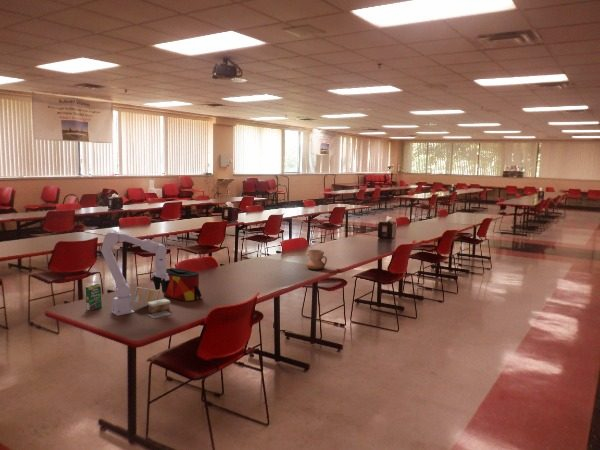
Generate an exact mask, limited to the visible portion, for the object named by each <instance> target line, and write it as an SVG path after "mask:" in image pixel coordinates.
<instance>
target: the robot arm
mask: <svg viewBox="0 0 600 450" xmlns="http://www.w3.org/2000/svg"><path fill="white" fill-rule="evenodd" d="M118 242H119V243H123V242H126V243H130V244H133V245H136V246H139V247H140V249H141V250H144V251H147V252H149V253H152V254H155V258H154V264H155V265H154V268H155V270H154V272H152V276H151V278H150V279H151V280H152V283H153V285H154V288H155V289H154V290H158V291H160V289H161V291H162V293H163V294H164V293H165V292H167V288H168V285H169V283H170V281H171V280H170V279H169V276H168V273H166V269H167V248H166V246H165V245H164V244H163V243H160V242H158V241H156V242H155V241H153V240H151V239H150V238H145V239H140V238H138V237H135V236H133V235H129V234H127V233H125V232H122V231H117V230H113V229H111V230H109V231H108V232H107V233H106V234H105V236H104V238H103V241H102V245H101V251H100V252H101V254H102V256H103V258H104V260H105V262H106V264H107V267H108V269H109V272H110V274H111V275H112V277H113V278H112V279H113V280H114V284H115V286H116V288H117V291H116V292H117V294H116V296H115V297H112V298H111V313H112V314H114V315H115V316H122V315H128V314H132V313H135V310H133V309H132V308H133V307H132V294H131V284H130V283H129V282H128V281H126V278H125V277H124V275H123V272H122V271H121V267H120V266H119V264H118V261H117V259H116V257H115V255H114V254H113V253H114V252H113V251H112V250H113V248H114V246H115V245H116V244H118Z"/></svg>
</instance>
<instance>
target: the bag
mask: <svg viewBox="0 0 600 450" xmlns="http://www.w3.org/2000/svg"><path fill="white" fill-rule="evenodd" d="M166 273H168V276H169V279H170V280H171V281H170V283H169V285H168V288H167V292H165V293H163V297H164V298H166V299H172V300H176V301H180V302H183V303H184V302H195V301H198V300H199V299H200V298H202V294H201V293H202V292H201V290H200V284H199V283H200V279H199V278H200V275H199V274H200V273H199V272H198V271H191V270H187V269H183V268H177V267H176V268H175V267H171V268H166Z"/></svg>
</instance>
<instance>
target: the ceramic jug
mask: <svg viewBox="0 0 600 450" xmlns="http://www.w3.org/2000/svg"><path fill="white" fill-rule="evenodd" d="M324 252H325V251H324V250H321V249H309V250H307V253H306V254H305V255H306V256H308V257H309V259H310V260H309V261H307V262H306V264H305V265H306V268H308V269H309V270H314V271H318V270H320V271H321V270H322V269H323V270H324V269H325V267H326V265H327V262H328V258H327V256H326V255H324ZM322 259H324V262H323V260H322Z"/></svg>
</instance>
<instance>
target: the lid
mask: <svg viewBox="0 0 600 450" xmlns="http://www.w3.org/2000/svg"><path fill="white" fill-rule="evenodd" d="M168 303H169V304H171V300H170V299H168V298H162V299H158V300H156V301H151V302H147V304H146V305H147V306H148V305H150V306H152V307H153V306H158V305H163V304H168Z"/></svg>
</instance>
